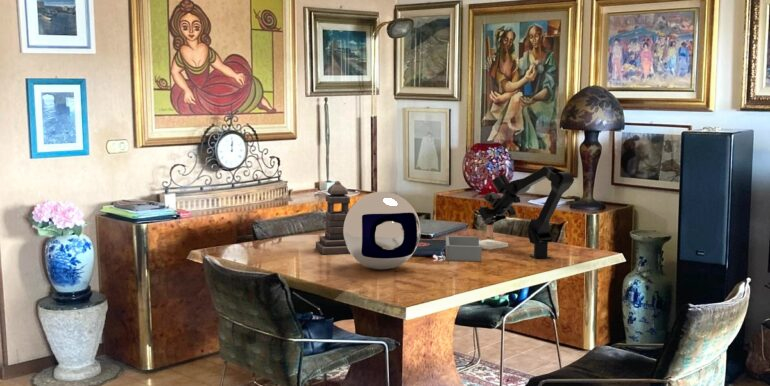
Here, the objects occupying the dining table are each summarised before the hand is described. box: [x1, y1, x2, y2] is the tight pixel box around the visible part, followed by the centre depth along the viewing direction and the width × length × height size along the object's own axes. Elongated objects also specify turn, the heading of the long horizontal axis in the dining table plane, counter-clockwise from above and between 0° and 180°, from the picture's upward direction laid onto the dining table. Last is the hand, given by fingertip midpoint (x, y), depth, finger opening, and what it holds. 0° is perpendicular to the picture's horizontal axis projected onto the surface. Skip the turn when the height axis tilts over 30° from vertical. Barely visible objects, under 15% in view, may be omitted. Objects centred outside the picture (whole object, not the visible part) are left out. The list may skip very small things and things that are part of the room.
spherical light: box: [343, 191, 422, 271], centre depth 344 cm, size 30×29×30 cm
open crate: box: [445, 235, 483, 262], centre depth 374 cm, size 14×23×6 cm, turn 177°
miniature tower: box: [315, 180, 351, 256], centre depth 379 cm, size 16×15×30 cm
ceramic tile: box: [479, 239, 509, 250], centre depth 396 cm, size 12×12×2 cm
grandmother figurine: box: [483, 222, 495, 240], centre depth 395 cm, size 8×4×13 cm, turn 35°
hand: (487, 223), depth 396 cm, fingers closed on grandmother figurine, 2 cm apart
